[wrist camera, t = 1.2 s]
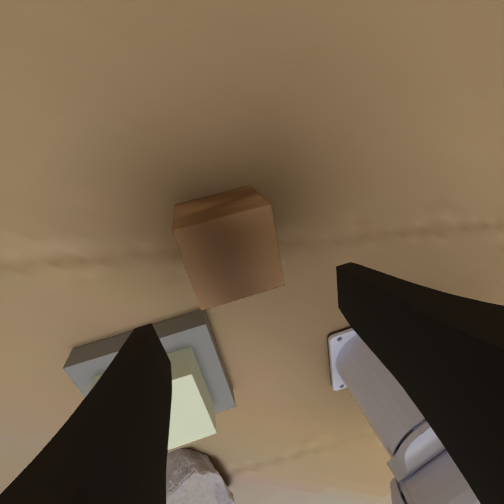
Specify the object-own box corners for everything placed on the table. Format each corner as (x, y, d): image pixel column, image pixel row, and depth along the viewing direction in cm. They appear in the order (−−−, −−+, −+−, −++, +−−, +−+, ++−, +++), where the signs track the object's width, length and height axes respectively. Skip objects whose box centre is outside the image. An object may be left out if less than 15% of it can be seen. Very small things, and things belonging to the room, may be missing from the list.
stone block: (186, 422, 29) (103, 488, 27) (196, 467, 25) (100, 548, 23) (235, 460, 35) (170, 516, 33) (250, 502, 31) (176, 568, 29)
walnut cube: (249, 185, 18) (271, 204, 13) (262, 250, 20) (284, 285, 15) (175, 204, 17) (172, 230, 13) (197, 269, 19) (201, 310, 15)
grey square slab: (203, 303, 21) (205, 324, 19) (231, 382, 26) (235, 406, 24) (76, 342, 20) (62, 368, 18) (129, 417, 25) (123, 446, 22)
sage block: (190, 346, 20) (191, 374, 17) (213, 403, 23) (216, 433, 21) (94, 376, 19) (82, 409, 17) (131, 431, 22) (125, 465, 20)
